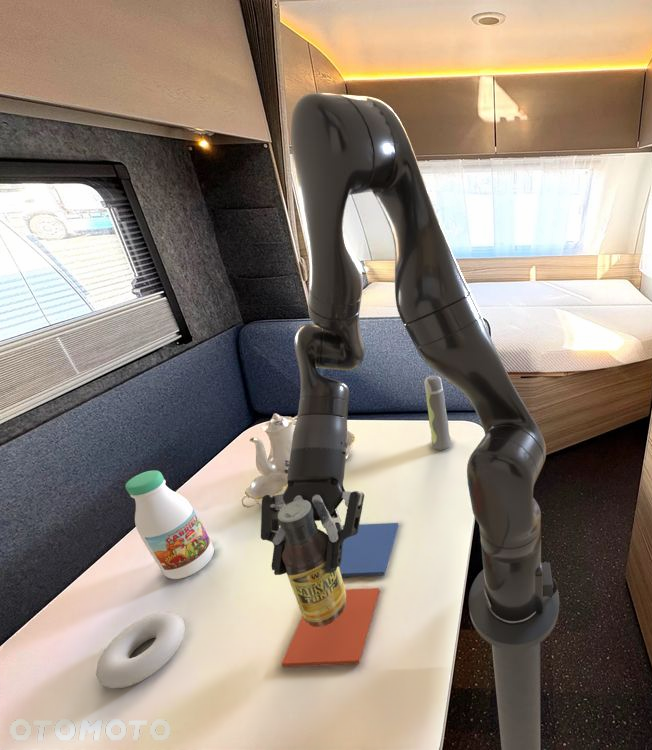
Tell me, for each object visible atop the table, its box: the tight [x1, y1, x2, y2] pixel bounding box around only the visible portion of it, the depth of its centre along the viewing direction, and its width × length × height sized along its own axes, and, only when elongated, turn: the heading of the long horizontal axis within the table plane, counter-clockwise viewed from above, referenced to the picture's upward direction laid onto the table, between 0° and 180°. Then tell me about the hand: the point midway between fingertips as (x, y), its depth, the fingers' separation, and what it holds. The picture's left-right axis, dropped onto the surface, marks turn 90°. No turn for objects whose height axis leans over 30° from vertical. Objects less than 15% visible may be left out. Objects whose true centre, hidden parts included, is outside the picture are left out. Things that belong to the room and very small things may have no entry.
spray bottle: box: [423, 375, 452, 451], centre depth 97 cm, size 5×5×20 cm
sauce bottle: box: [277, 500, 347, 627], centre depth 54 cm, size 7×6×20 cm
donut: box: [95, 611, 186, 689], centre depth 57 cm, size 10×4×10 cm
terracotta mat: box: [281, 587, 381, 668], centre depth 60 cm, size 11×11×1 cm
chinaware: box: [241, 412, 356, 508], centre depth 90 cm, size 28×17×17 cm, turn 154°
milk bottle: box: [125, 470, 215, 580], centre depth 67 cm, size 8×8×20 cm
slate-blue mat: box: [339, 522, 399, 578], centre depth 72 cm, size 11×11×1 cm
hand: (306, 572), depth 52 cm, fingers closed on sauce bottle, 6 cm apart
